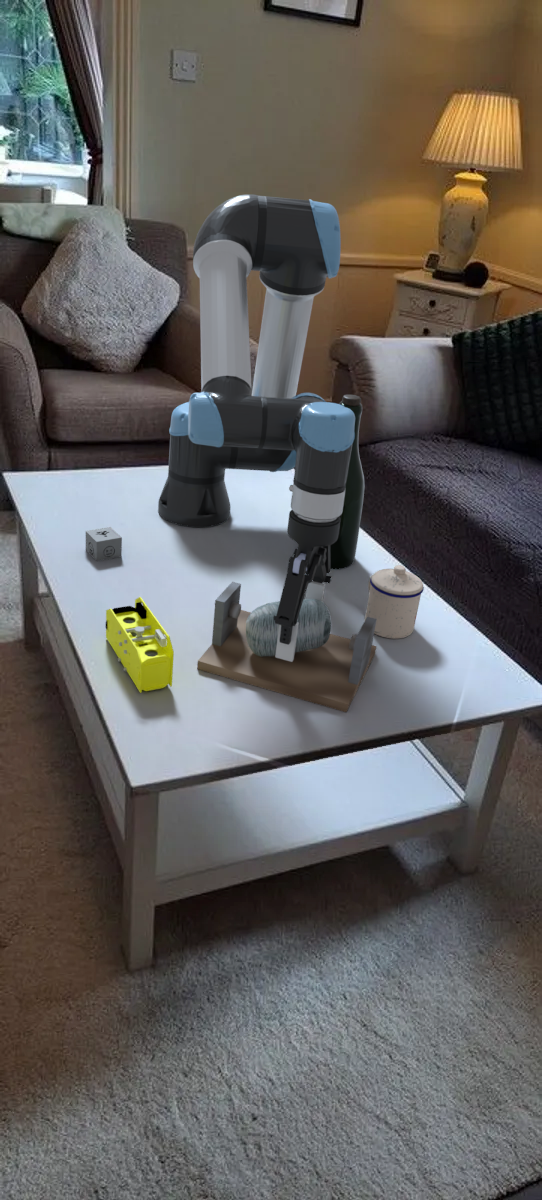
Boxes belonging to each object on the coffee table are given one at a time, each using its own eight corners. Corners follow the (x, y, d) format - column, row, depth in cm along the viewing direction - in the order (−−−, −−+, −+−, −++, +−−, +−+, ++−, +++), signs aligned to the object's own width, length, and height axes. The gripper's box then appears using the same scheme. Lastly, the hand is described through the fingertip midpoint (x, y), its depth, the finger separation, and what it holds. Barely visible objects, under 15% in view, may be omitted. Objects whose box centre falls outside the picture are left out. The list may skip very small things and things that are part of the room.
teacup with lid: (424, 635, 148) (438, 576, 143) (380, 644, 144) (392, 583, 139) (387, 602, 157) (398, 545, 152) (344, 609, 154) (354, 551, 148)
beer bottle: (362, 569, 168) (391, 404, 153) (313, 573, 165) (337, 405, 149) (341, 546, 177) (365, 387, 161) (293, 549, 173) (314, 387, 157)
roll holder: (240, 617, 147) (244, 568, 143) (375, 653, 141) (384, 603, 137) (197, 668, 132) (200, 615, 128) (346, 712, 126) (356, 658, 122)
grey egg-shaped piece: (325, 620, 141) (311, 571, 136) (346, 652, 133) (332, 601, 128) (248, 652, 140) (231, 604, 134) (265, 685, 132) (247, 636, 127)
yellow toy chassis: (174, 690, 127) (177, 642, 123) (138, 697, 125) (139, 649, 121) (138, 636, 139) (139, 590, 135) (104, 641, 137) (104, 596, 133)
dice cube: (110, 550, 165) (110, 526, 162) (121, 561, 161) (121, 537, 159) (85, 555, 162) (85, 530, 160) (96, 566, 159) (96, 541, 156)
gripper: (316, 480, 135) (300, 597, 146) (261, 538, 115) (247, 670, 125) (361, 490, 134) (342, 608, 144) (314, 551, 113) (296, 684, 123)
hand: (298, 637), depth 134 cm, fingers open, 13 cm apart
